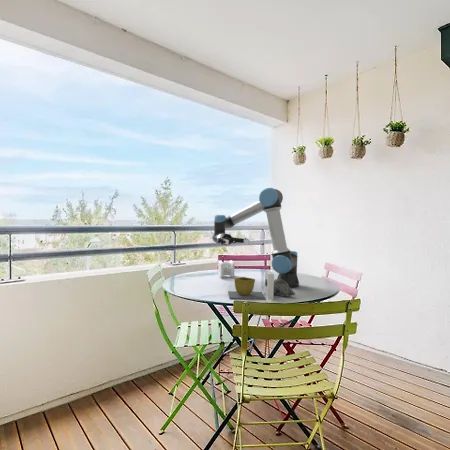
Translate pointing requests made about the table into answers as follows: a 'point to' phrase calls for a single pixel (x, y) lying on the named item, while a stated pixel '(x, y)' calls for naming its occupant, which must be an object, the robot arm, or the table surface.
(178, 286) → the table surface
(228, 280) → the table surface
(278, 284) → the mineral rock
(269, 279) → the wall socket block
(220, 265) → the cable organizer
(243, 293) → the flower pot
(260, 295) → the mat
